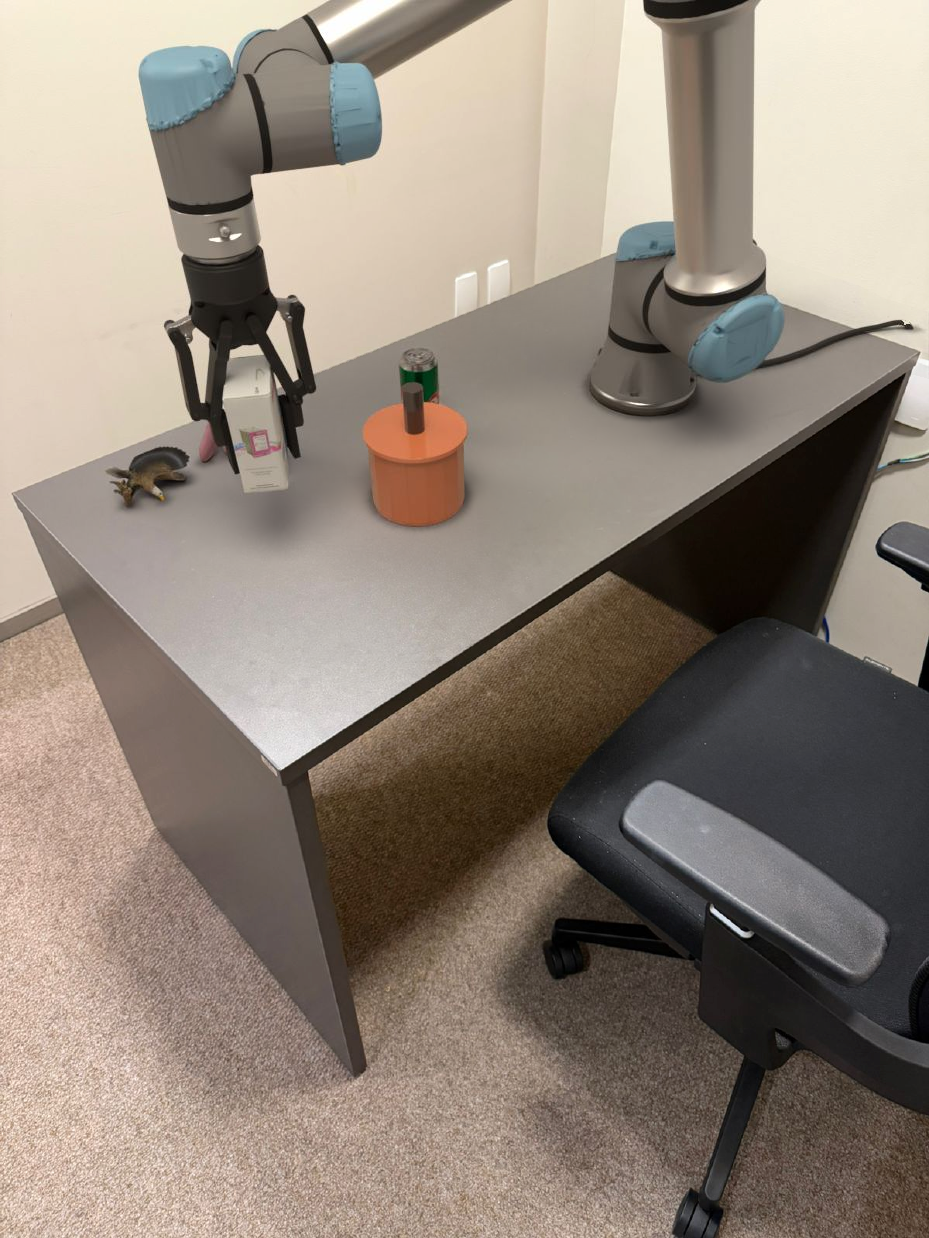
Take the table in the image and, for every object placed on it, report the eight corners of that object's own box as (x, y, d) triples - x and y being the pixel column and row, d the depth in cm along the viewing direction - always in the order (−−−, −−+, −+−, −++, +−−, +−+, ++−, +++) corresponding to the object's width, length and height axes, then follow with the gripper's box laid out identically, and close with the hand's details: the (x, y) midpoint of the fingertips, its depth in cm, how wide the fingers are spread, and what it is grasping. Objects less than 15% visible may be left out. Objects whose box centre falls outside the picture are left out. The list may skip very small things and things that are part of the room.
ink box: (244, 450, 99) (224, 354, 90) (288, 446, 99) (273, 351, 91) (241, 494, 93) (221, 396, 84) (288, 490, 93) (272, 393, 85)
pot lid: (441, 401, 108) (439, 352, 104) (485, 451, 100) (485, 400, 96) (348, 425, 105) (342, 375, 100) (386, 478, 97) (381, 427, 92)
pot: (441, 463, 114) (439, 400, 108) (479, 510, 107) (479, 445, 100) (361, 486, 111) (353, 422, 104) (394, 536, 103) (388, 471, 97)
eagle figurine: (151, 516, 105) (203, 470, 109) (109, 470, 102) (164, 424, 106) (132, 520, 111) (182, 477, 115) (92, 477, 108) (145, 433, 112)
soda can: (435, 447, 117) (432, 366, 108) (399, 443, 118) (393, 363, 109) (443, 427, 120) (441, 347, 112) (408, 424, 121) (403, 344, 113)
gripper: (123, 284, 74) (187, 500, 90) (332, 244, 80) (357, 455, 96) (109, 253, 79) (172, 463, 95) (307, 218, 85) (334, 422, 101)
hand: (264, 459), depth 96 cm, fingers closed on ink box, 6 cm apart
